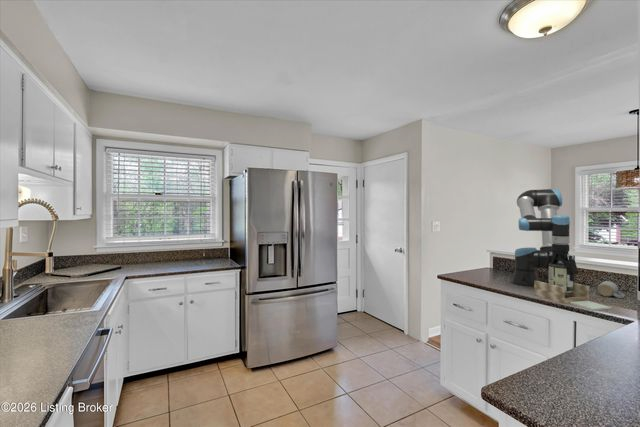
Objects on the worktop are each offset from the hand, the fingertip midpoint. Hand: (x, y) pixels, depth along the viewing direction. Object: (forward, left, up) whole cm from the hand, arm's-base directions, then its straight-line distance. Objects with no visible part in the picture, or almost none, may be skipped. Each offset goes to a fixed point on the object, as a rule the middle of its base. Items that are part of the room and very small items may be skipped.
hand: (560, 284), depth 164 cm
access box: (0, 0, -7) cm, 7 cm away
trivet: (+15, +1, -7) cm, 17 cm away
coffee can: (0, 0, -4) cm, 4 cm away
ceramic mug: (+3, +30, -8) cm, 31 cm away
